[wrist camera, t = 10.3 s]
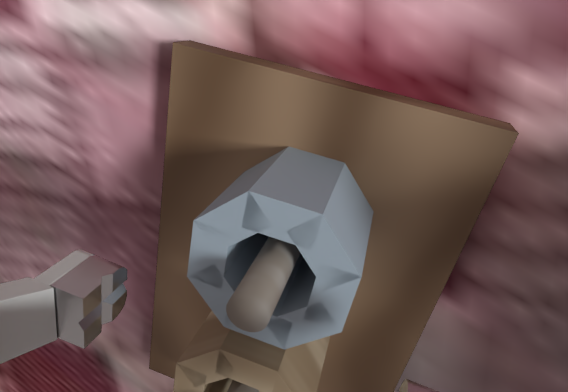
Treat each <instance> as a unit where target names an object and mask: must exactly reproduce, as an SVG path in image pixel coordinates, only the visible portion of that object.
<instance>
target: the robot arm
mask: <svg viewBox="0 0 568 392" xmlns="http://www.w3.org/2000/svg"><path fill="white" fill-rule="evenodd" d="M125 280H127V269H126V268H124V267H122V266H120V265H118V264H115V263H113V262H111V261H108V260H106V259H104V258H101V257H99V256H97V255H93V254H91V253H89V252H87V251H84V250H82V249H80V250H75V251H74V252H72V253H71V254H69V255H68V256H66V257H65V258H63V259H62V260H60V261H59V262H57V263H56V264H54V265H53V266H52V267H50V268H49V269H47V270H46V271H44V272H43V273H41V274H40V275H38V276H37V277H35V278H34V279H32V278H29V277H27V278H23V279H18V280H14V281H10V282H5V283H1V284H0V364H1V363H4V362H6V361H8V360H11V359H13V358H15V357H18V356H20V355H22V354H25V353H27V352H29V351H32V350H34V349H36V348H39V347H41V346H43V345H46V344H48V343H50V342H53V341H55V340H57V338H59V339H62V340H64V341H67V342H69V343H72V344H74V345H76V346H79V347H81V348H85V347H87V346H88V345H89V344H90V343H91V342H92V341H93V340H94V339H95V338H96V337H97V336H98V335H99V334H100V333H101V329H102V324H105V323H108V322H111V321H113V320H114V319H115V318H116V317H117V316H118V314H119V313H120V311H121V310H122V308H123V306H124V304H125V301H126V297H127V290H126V288H125V286H124V285H123V282H124V281H125ZM399 392H439V391H436V390H434V389H431V388H428V387H426V386H423V385H421V384H418V383H415V382H413V381H410V380H408V379H405V380H404V381H403V383H402V385H401V387H400V390H399Z"/></svg>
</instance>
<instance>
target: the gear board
mask: <svg viewBox="0 0 568 392" xmlns="http://www.w3.org/2000/svg"><path fill="white" fill-rule="evenodd" d="M518 134H519V133H518V132H517V131H516V130H515V129H514V127H513V126H512V125H511V124H510V123H506V122H502V121H498V120H495V119H491V118H487V117H483V116H479V115H475V114H471V113H468V112H464V111H460V110H456V109H452V108H448V107H444V106H441V105H437V104H433V103H429V102H425V101H421V100H417V99H414V98H410V97H406V96H402V95H398V94H394V93H390V92H387V91H383V90H379V89H375V88H371V87H367V86H363V85H360V84H356V83H352V82H348V81H344V80H340V79H336V78H333V77H329V76H325V75H321V74H317V73H313V72H309V71H306V70H302V69H298V68H294V67H290V66H286V65H282V64H279V63H275V62H271V61H267V60H263V59H259V58H255V57H252V56H248V55H244V54H240V53H236V52H232V51H228V50H225V49H221V48H217V47H213V46H209V45H205V44H201V43H198V42H194V41H181V42H173V48H172V62H171V76H170V90H169V103H168V117H167V131H166V145H165V159H164V172H163V186H162V200H161V214H160V227H159V241H158V255H157V269H156V283H155V296H154V310H153V324H152V338H151V351H150V365H149V369H152V370H154V371H157V372H159V373H162V374H164V375H166V376H169V377H171V378H174V379H175V380H174V389H173V392H394V389H395V387H396V385H397V383H398V381H399V379H400V377H401V375H402V373H403V371H404V369H405V367H406V365H407V363H408V361H409V359H410V356H411V354H412V352H413V350H414V348H415V346H416V344H417V342H418V340H419V338H420V336H421V334H422V332H423V330H424V328H425V325H426V323H427V321H428V319H429V317H430V315H431V313H432V311H433V309H434V307H435V305H436V303H437V301H438V299H439V297H440V295H441V292H442V290H443V288H444V286H445V284H446V282H447V280H448V278H449V276H450V274H451V272H452V270H453V268H454V266H455V264H456V262H457V259H458V257H459V255H460V253H461V251H462V249H463V247H464V245H465V243H466V241H467V239H468V237H469V235H470V233H471V231H472V228H473V226H474V224H475V222H476V220H477V218H478V216H479V214H480V212H481V210H482V208H483V206H484V204H485V202H486V200H487V198H488V195H489V193H490V191H491V189H492V187H493V185H494V183H495V181H496V179H497V177H498V175H499V173H500V171H501V169H502V167H503V164H504V162H505V160H506V158H507V156H508V154H509V152H510V150H511V148H512V146H513V144H514V142H515V140H516V138H517V136H518ZM287 147H293V148H296V149H299V150H303V151H306V152H310V153H313V154H317V155H320V156H323V157H327V158H330V159H334V160H337V161H340V162H344V163H345V164H346V165H347V167H348V169H349V171H350V172H351V174H352V176H353V177H354V179H355V181H356V182H357V184H358V186H359V188H360V189H361V191H362V193H363V194H364V196H365V198H366V199H367V201H368V203H369V204H370V206H371V208H372V210H373V211H374V212H373V217H372V223H371V228H370V234H369V239H368V245H367V251H366V256H365V262H364V267H363V273H362V277H361V280H360V283H359V285H358V288H357V291H356V294H355V296H354V299H353V302H352V305H351V308H350V310H349V313H348V316H347V319H346V321H345V324H344V327H343V330H342V332H341V333H337V334H334V335H331V336H328V337H324V338H321V339H318V340H314V341H311V342H308V343H305V344H301V345H298V346H295V347H291V348H288V349H285V350H284V349H281V348H279V347H276V346H273V345H271V344H268V343H265V342H263V341H260V340H258V339H255V338H252V337H250V336H247V335H244V334H242V333H239V332H236V331H234V330H231V329H228V328H226V327H224V326H223V325H222V324H221V322H220V321H219V319H218V318H217V317H216V315H215V314H214V313H213V311H212V310H211V309H210V307H209V306H208V304H207V303H206V302H205V300H204V299H203V298H202V296H201V295H200V294H199V292H198V291H197V289H196V288H195V287H194V285H193V284H192V283H191V281H190V280H189V279H188V277H187V272H188V263H189V255H190V246H191V238H192V229H193V220H194V219H195V218H196V217H197V216H199V215H200V214H201V213H202V212H203V211H204V210H205V209H206V208H207V207H208V206H209V205H210V204H211V203H212V202H213V201H214V200H215V199H216V198H217V197H218V196H219V195H220V194H222V193H223V192H224V191H225V190H226V189H227V188H228V187H229V186H230V185H231V184H232V183H233V182H234V181H235V180H236V179H237V178H238V177H239V176H240V175H241V174H242V173H244V172H245V171H246V170H248V169H250V168H252V167H254V166H255V165H257V164H259V163H261V162H262V161H264V160H266V159H268V158H269V157H271V156H273V155H275V154H277V153H278V152H280V151H282V150H284V149H285V148H287ZM299 255H300V251H299V250H298V248H297V247H296V245H294V244H291V243H288V242H285V241H281V240H278V239H275V238H272V237H269V238H268V239H267V241H266V242H265V244H264V245H263V247H262V249H261V250H260V252H259V253H258V255H257V257H256V258H255V260H254V261H253V263H252V265H251V266H250V268H249V269H248V271H247V272H246V274H245V276H244V277H243V279H242V280H241V282H240V284H239V285H238V287H237V288H236V290H235V291H234V293H233V295H232V296H231V298H230V299H229V301H228V303H227V305H226V312H227V316H228V318H229V319H230V321H231V322H232V323H233V324H234V325H235V326H236V327H238V328H239V329H241V330H244V331H247V332H259V331H262V330H263V329H265V328H266V326H267V325H268V323H269V321H270V318H271V316H272V314H273V312H274V310H275V307H276V305H277V303H278V301H279V299H280V297H281V294H282V292H283V290H284V288H285V286H286V283H287V281H288V279H289V277H290V275H291V272H292V270H293V268H294V266H295V264H296V261H297V259H298V257H299Z"/></svg>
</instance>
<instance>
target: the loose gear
mask: <svg viewBox="0 0 568 392" xmlns="http://www.w3.org/2000/svg"><path fill="white" fill-rule="evenodd" d="M373 212H374V211H373V210H372V208H371V206H370V204H369V203H368V201H367V199H366V198H365V196H364V194H363V193H362V191H361V189H360V188H359V186H358V184H357V182H356V181H355V179H354V177H353V176H352V174H351V172H350V171H349V169H348V167H347V165H346V164H345V163H344V162H340V161H337V160H334V159H330V158H327V157H323V156H320V155H317V154H313V153H310V152H306V151H303V150H299V149H296V148H293V147H287V148H285V149H284V150H282V151H280V152H278V153H277V154H275V155H273V156H271V157H269V158H268V159H266V160H264V161H262V162H261V163H259V164H257V165H255V166H254V167H252V168H250V169H248V170H246V171H245V172H244V173H242V174H241V175H240V176H239V177H238V178H237V179H236V180H235V181H234V182H233V183H232V184H231V185H230V186H229V187H228V188H227V189H226V190H225V191H224V192H223V193H222V194H220V195H219V196H218V197H217V198H216V199H215V200H214V201H213V202H212V203H211V204H210V205H209V206H208V207H207V208H206V209H205V210H204V211H203V212H202V213H201V214H200V215H199V216H197V217H196V218H195V219H194V220H193V229H192V238H191V246H190V255H189V263H188V272H187V277H188V279H189V280H190V281H191V283H192V284H193V285H194V287H195V288H196V289H197V291H198V292H199V294H200V295H201V296H202V298H203V299H204V300H205V302H206V303H207V304H208V306H209V307H210V309H211V310H212V311H213V313H214V314H215V315H216V317H217V318H218V319H219V321H220V322H221V324H222V325H223V326H224V327H226V328H228V329H231V330H234V331H236V332H239V333H242V334H244V335H247V336H250V337H252V338H255V339H258V340H260V341H263V342H265V343H268V344H271V345H273V346H276V347H279V348H281V349H284V350H285V349H288V348H291V347H295V346H298V345H301V344H305V343H308V342H311V341H314V340H318V339H321V338H324V337H328V336H331V335H334V334H337V333H341V332H342V330H343V327H344V324H345V321H346V319H347V316H348V313H349V310H350V308H351V305H352V302H353V299H354V296H355V294H356V291H357V288H358V285H359V283H360V280H361V277H362V273H363V267H364V262H365V256H366V251H367V245H368V239H369V234H370V228H371V223H372V217H373ZM269 237H272V238H275V239H278V240H281V241H285V242H288V243H291V244H294V245H296V247H297V248H298V250H299V251H300V255H299V257H298V259H297V261H296V264H295V266H294V268H293V270H292V272H291V275H290V277H289V279H288V281H287V283H286V286H285V288H284V290H283V292H282V294H281V297H280V299H279V301H278V303H277V305H276V307H275V310H274V312H273V314H272V316H271V318H270V321H269V323H268V325H267V326H266V328H265V329H263V330H262V331H259V332H247V331H244V330H241V329H239V328H238V327H236V326H235V325H234V324H233V323H232V322H231V321H230V319H229V318H228V316H227V312H226V305H227V303H228V301H229V299H230V298H231V296H232V295H233V293H234V291H235V290H236V288H237V287H238V285H239V284H240V282H241V280H242V279H243V277H244V276H245V274H246V272H247V271H248V269H249V268H250V266H251V265H252V263H253V261H254V260H255V258H256V257H257V255H258V253H259V252H260V250H261V249H262V247H263V245H264V244H265V242H266V241H267V239H268V238H269Z"/></svg>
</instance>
